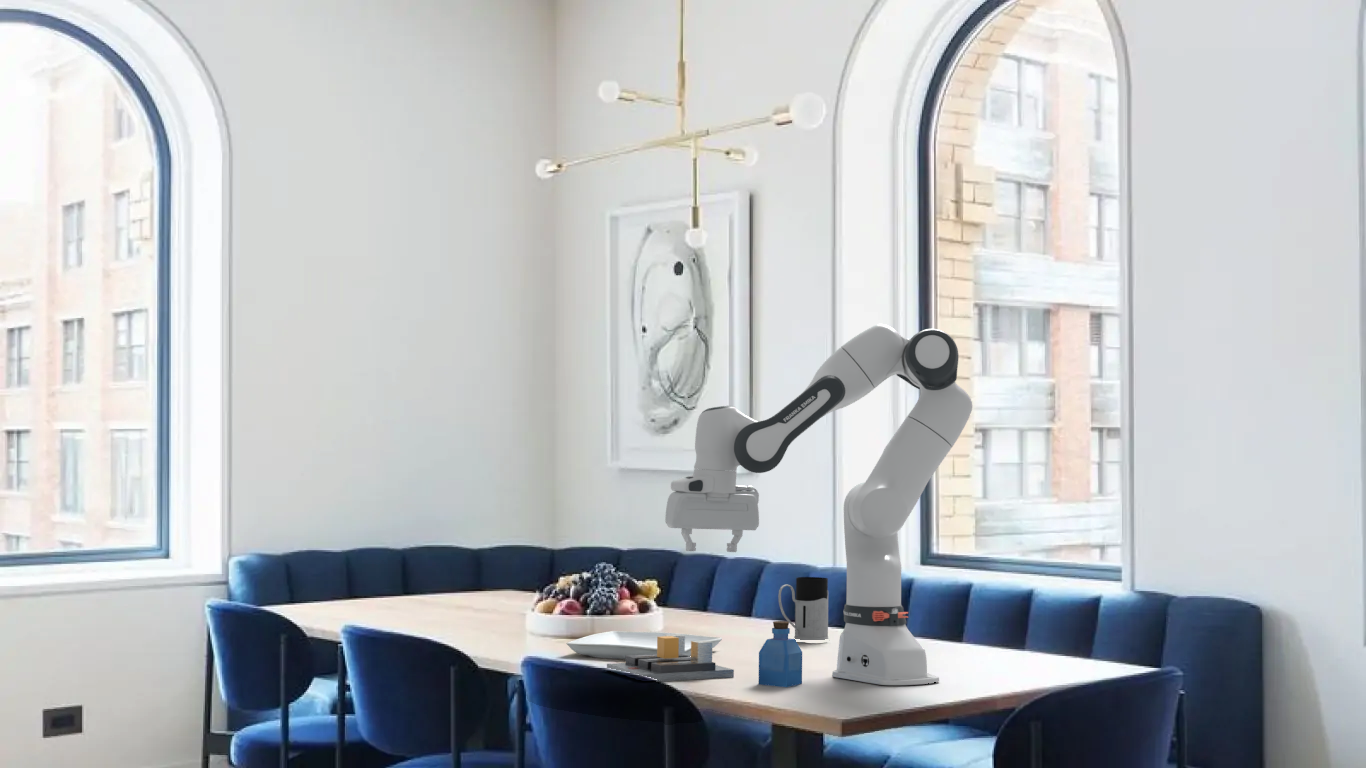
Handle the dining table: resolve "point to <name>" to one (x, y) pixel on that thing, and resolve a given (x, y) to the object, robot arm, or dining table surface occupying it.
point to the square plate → (628, 643)
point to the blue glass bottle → (780, 659)
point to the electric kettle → (809, 608)
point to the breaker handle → (667, 647)
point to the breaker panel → (675, 675)
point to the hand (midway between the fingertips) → (711, 551)
